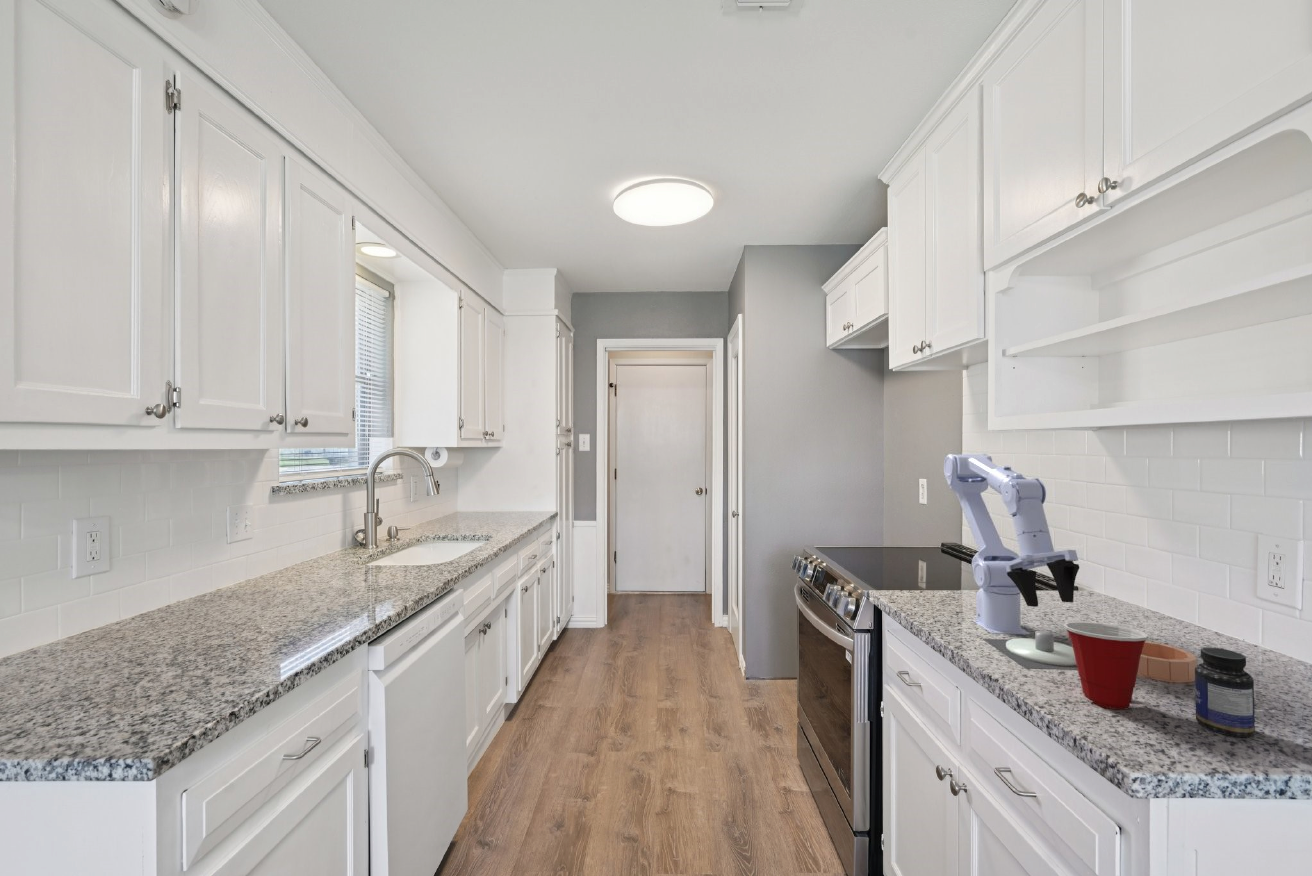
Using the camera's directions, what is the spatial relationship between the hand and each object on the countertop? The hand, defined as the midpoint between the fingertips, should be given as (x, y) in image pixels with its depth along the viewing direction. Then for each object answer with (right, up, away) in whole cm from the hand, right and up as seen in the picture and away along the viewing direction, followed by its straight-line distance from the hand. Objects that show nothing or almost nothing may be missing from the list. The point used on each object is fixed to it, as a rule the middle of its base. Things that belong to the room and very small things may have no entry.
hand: (1049, 604), depth 109 cm
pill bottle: (+7, -10, -27) cm, 30 cm away
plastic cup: (-4, -11, -18) cm, 21 cm away
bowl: (+15, -11, -6) cm, 19 cm away
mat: (0, -11, +2) cm, 11 cm away
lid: (0, -10, +2) cm, 10 cm away
